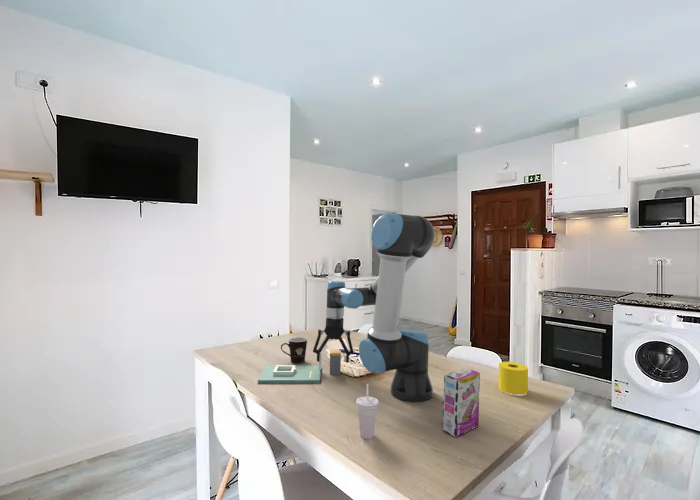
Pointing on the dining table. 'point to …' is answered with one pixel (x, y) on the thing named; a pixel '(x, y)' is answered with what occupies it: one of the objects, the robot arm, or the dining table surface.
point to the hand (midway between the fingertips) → (332, 369)
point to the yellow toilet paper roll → (513, 377)
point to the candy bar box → (461, 401)
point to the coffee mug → (297, 349)
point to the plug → (335, 362)
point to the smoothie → (367, 415)
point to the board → (290, 374)
